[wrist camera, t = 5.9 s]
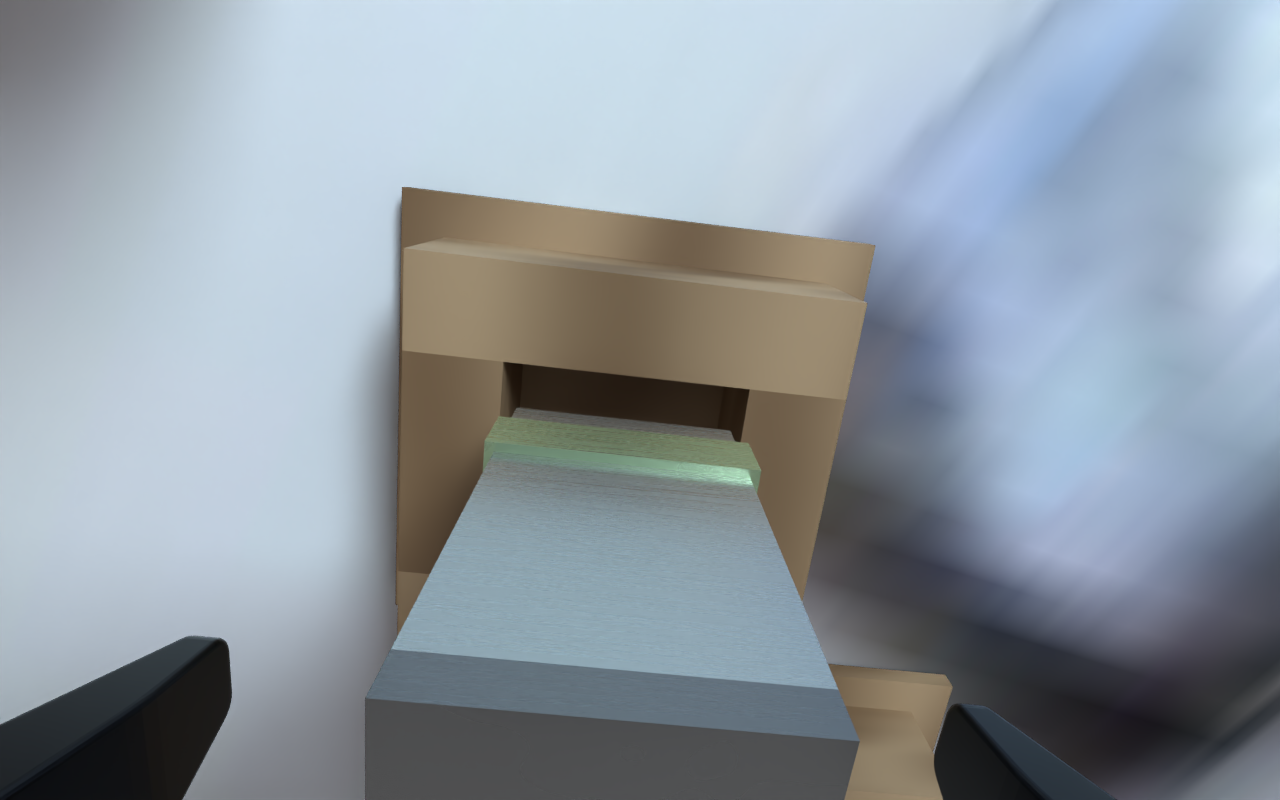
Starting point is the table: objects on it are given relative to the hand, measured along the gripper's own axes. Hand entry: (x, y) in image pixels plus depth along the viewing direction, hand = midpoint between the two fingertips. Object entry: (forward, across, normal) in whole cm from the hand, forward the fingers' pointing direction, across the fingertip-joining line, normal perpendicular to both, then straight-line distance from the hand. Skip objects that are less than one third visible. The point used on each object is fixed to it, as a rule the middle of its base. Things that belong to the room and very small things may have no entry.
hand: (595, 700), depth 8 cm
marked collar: (+10, 0, 0) cm, 10 cm away
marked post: (+6, 0, 0) cm, 6 cm away
